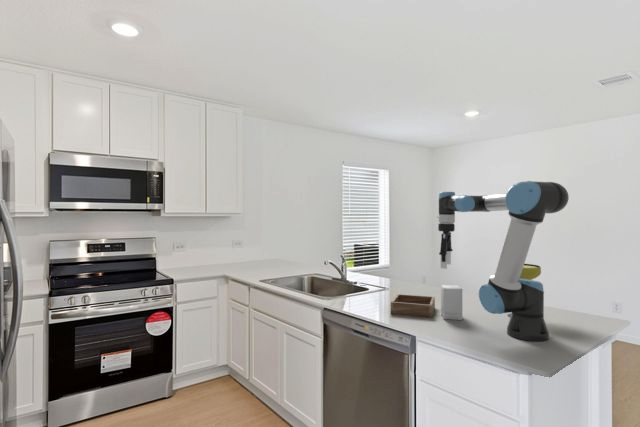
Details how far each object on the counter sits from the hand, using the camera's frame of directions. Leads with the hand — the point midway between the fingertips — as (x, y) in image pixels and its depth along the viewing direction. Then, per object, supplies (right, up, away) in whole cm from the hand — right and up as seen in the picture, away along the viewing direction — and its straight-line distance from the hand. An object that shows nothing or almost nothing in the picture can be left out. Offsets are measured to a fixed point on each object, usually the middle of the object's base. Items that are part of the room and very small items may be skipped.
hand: (445, 266), depth 183 cm
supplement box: (+2, -25, -2) cm, 25 cm away
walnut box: (-13, -25, +10) cm, 30 cm away
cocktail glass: (+35, -25, -2) cm, 43 cm away
